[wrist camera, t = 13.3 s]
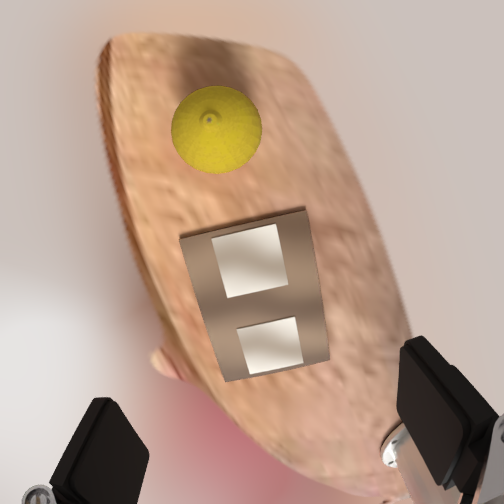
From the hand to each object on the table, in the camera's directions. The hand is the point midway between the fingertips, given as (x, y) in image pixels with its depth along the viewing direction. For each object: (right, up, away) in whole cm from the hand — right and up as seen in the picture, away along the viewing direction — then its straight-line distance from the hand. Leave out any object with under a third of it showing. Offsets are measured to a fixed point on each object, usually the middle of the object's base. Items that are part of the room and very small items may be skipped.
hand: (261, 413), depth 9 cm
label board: (+1, +1, +17) cm, 17 cm away
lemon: (-3, +14, +13) cm, 19 cm away
